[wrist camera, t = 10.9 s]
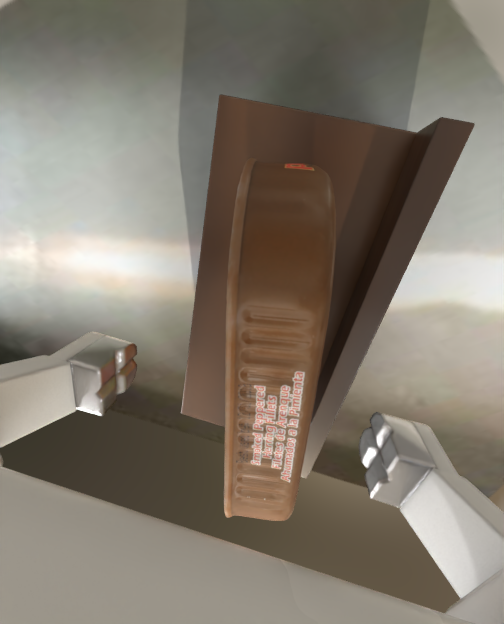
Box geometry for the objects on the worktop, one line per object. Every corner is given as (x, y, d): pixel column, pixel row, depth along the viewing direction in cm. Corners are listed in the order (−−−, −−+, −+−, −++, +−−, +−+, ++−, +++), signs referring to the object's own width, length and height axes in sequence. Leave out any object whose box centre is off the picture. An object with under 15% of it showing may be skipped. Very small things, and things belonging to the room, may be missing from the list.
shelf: (203, 374, 24) (168, 434, 18) (242, 126, 16) (203, 71, 10) (305, 404, 23) (307, 479, 17) (402, 158, 15) (476, 122, 9)
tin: (260, 174, 12) (194, 119, 5) (326, 176, 12) (374, 119, 4) (247, 410, 18) (208, 558, 10) (291, 418, 18) (284, 578, 10)
